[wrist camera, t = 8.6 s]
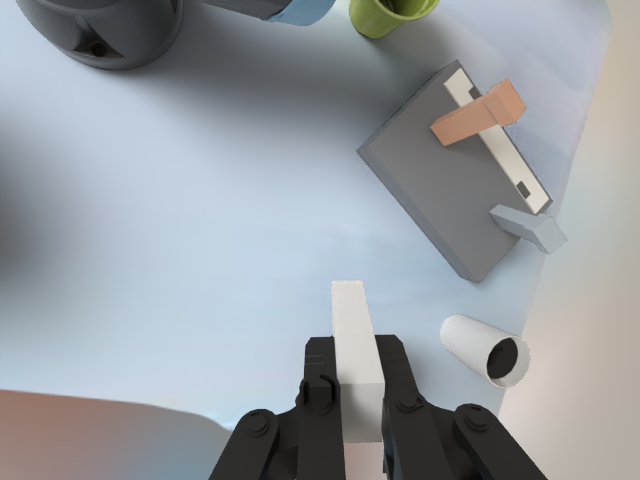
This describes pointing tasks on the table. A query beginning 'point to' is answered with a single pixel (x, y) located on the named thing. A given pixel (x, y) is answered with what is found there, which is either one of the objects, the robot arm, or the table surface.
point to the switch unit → (454, 175)
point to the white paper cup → (486, 349)
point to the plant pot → (386, 14)
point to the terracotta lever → (480, 114)
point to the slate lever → (530, 227)
